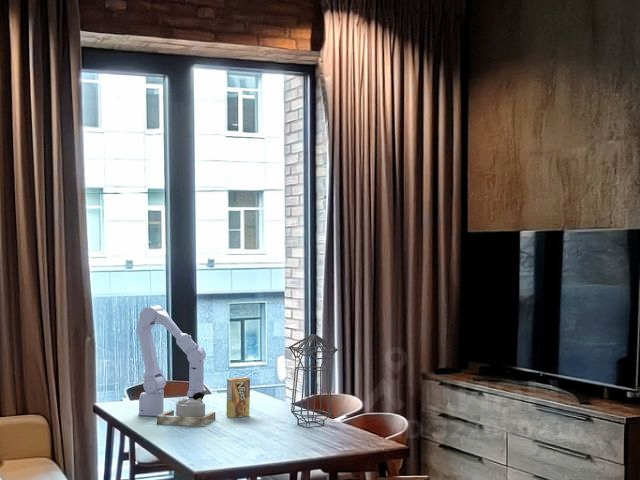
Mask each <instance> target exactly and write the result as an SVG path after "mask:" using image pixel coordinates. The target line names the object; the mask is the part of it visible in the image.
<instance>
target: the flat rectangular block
mask: <svg viewBox="0 0 640 480" xmlns="http://www.w3.org/2000/svg"><path fill="white" fill-rule="evenodd" d="M164 412H165V413H162V414H160V415H158V416H156V424H157V425H170V426H171V425H175V426H189V427H191V426H194V427H205V426H207V425H209V424H210V423H212V422H214V421H216V412H215V411H211V412H209V413H207V414H205V416H203V417H182V416H176V415H175V409H169V410H167V411H164Z"/></svg>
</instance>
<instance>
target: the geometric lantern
mask: <svg viewBox="0 0 640 480" xmlns="http://www.w3.org/2000/svg"><path fill="white" fill-rule="evenodd" d="M298 344H299V345H298ZM312 344H313V346H312ZM297 345H298V346H297ZM308 346H309V347H308ZM287 348H288V349H289V350H290V351H291V353H292V355H293V356H294V373H293V374H294V375H293V384H292V397H291V409H290V412H291V414H292V415H293V416H294V417H295V419H296V421H297V422H296V423H297V424H296V425H297V426H300V427H304V428H305V429H306V428H308V429H309V428H317V427H318V428H319V427H325V422H326V420H328V418H329V417H330V416H331V415H332V392H331V391H332V388H331V387H332V385H331V384H332V383H331V381H332V380H331V378H332V377H331V371H332V370H331V368H329V367H330V364H329V361H330V359H332V357H333V356H334V355H335V354H336V353H337V352H338V351H339V350H340V349H338V348H337V347H335V346H334V345H333V344H332V343H330V342H328V341H326V339H324V338H322V337H321V336H319V335H318V334H315V333H313V334H309V335H308V336H306V337H304V338H302V339H301V340H299V341H297V342H295V343H293V344H292V345H290V346H288V347H287ZM318 349H320V350H318ZM304 352H308V354H305V353H304ZM298 353H299V354H298ZM313 353H315V355H314V354H313ZM318 353H322V357H318ZM303 357H309V358H310V360H311V363H310V365H308V366H304V365H303V363H302V359H303ZM312 357H313V358H314V359H312ZM296 359H298V361H299V362H298V364H296V363H297V362H296V361H297V360H296ZM315 360H316V361H318V360H323V361H322V362H321V364H320V366H317V365H316V364H315ZM326 360H327V362H326ZM312 364H314V366H312ZM296 365H297V366H296ZM300 365H301V366H300ZM323 365H325V367H323ZM310 368H311V369H310ZM312 368H313V369H312ZM314 368H315V369H314ZM299 370H300V371H303V375H302V387H301V400H300V401H301V403H300V409H298V410H297V409H295V407H296V397H297V390H298V389H297V387H298V380H299V379H298V377H299ZM305 372H307V373H306V375H307V376H306V377H307V378H306V379H307V382H306V383H307V384H306V386H307V391H306V392H307V393H306V395H307V397H306V399H307V401H306V402H307V403H306V409H303V405H304V404H303V402H304V391H305V389H304V388H305V387H304V386H305ZM310 372H315V380H314V381H315V383H314V398H313V409H312V408H311V409H310V408H309V407H310V406H309V405H310V404H309V402H310V401H309V397H310V396H309V394H310V393H309V390H310V389H309V388H310V387H309V382H310V380H309V378H310V375H309V374H310ZM318 372H319V409H316V398H317V397H316V396H317V395H316V394H317V382H318V381H317V380H318V379H317V378H318ZM322 372H326V387H327V388H326V393H327V411H325V410H322ZM299 412H300V413H299ZM303 412H306V413H307V414H304V415H303ZM310 412H312V414H310ZM315 412H317V414H315ZM320 413H324V414H320ZM320 417H325V418H324V419H323V418H320ZM306 419H307V420H306ZM310 419H311V420H310ZM300 421H302V422H300ZM310 423H316V424H319V425H313V426H311V424H310ZM304 424H305V425H304Z"/></svg>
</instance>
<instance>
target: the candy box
mask: <svg viewBox="0 0 640 480" xmlns="http://www.w3.org/2000/svg"><path fill="white" fill-rule="evenodd" d="M250 392H251V378H250V377H245V376H243V377H235V378H234V377H233V378H227V379H226V412H225V413H226V417H227V418H229V419H230V418H231V419H236V418H241V417H242V418H243V417H248V416H249V417H250V405H251V404H250V403H251V402H250V401H251V400H250V397H251V395H250V394H251V393H250Z"/></svg>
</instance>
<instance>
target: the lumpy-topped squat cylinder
mask: <svg viewBox="0 0 640 480" xmlns="http://www.w3.org/2000/svg"><path fill="white" fill-rule="evenodd" d="M205 415H206V403H205V402H203V399H197V400H194V399H193V398H188V399H187V398H185V397H183V398H182V399H179V400H178V401H177V402H176V404H175V416H182V417H203V416H205Z"/></svg>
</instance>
